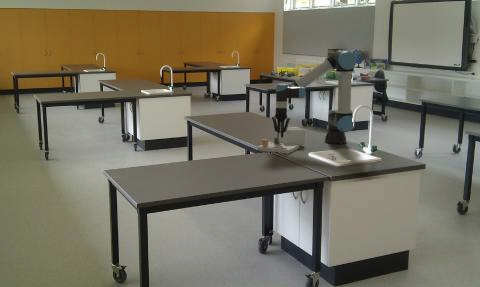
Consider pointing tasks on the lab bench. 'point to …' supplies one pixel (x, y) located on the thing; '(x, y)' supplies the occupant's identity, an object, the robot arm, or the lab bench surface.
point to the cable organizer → (294, 136)
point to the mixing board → (279, 147)
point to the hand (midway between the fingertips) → (280, 142)
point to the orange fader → (265, 142)
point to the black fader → (276, 140)
